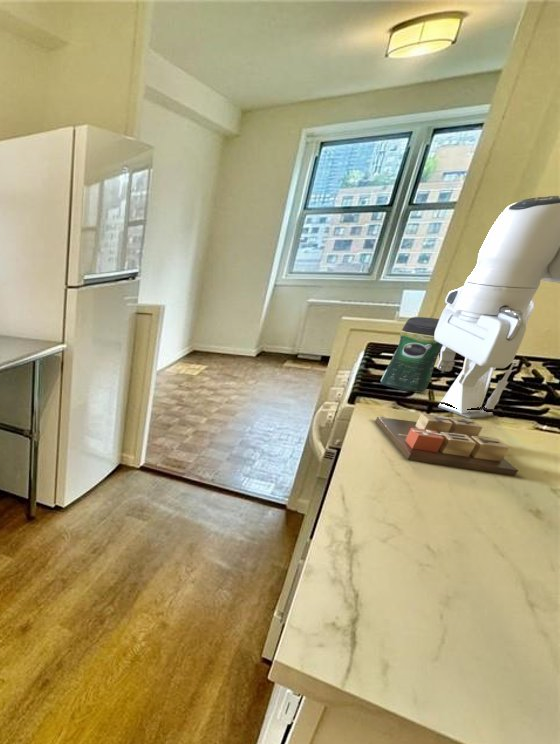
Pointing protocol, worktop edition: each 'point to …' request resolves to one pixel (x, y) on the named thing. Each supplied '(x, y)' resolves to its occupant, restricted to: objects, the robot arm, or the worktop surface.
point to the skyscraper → (477, 388)
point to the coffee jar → (413, 356)
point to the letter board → (400, 430)
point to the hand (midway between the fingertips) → (454, 377)
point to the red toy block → (424, 439)
